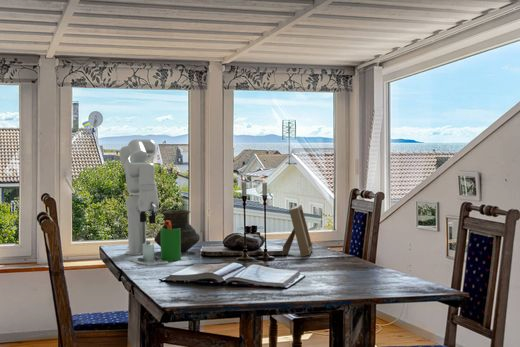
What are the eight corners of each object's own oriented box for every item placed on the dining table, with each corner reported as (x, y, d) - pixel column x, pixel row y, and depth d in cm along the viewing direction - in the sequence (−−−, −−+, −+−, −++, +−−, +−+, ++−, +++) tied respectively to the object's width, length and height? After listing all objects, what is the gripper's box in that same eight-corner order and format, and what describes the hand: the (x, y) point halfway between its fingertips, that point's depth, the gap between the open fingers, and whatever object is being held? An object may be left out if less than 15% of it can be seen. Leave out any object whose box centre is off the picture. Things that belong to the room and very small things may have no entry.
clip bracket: (129, 260, 343) (129, 256, 343) (149, 258, 350) (148, 254, 350) (147, 265, 327) (147, 261, 327) (168, 263, 334) (168, 258, 334)
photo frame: (312, 250, 370) (311, 204, 370) (309, 256, 349) (308, 207, 348) (285, 250, 373) (284, 205, 372) (280, 256, 351) (279, 208, 350)
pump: (141, 260, 339) (140, 240, 339) (150, 258, 342) (150, 240, 342) (146, 261, 334) (145, 241, 334) (156, 260, 338) (155, 241, 337)
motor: (182, 258, 350) (181, 219, 349) (178, 260, 341) (177, 221, 340) (162, 258, 351) (162, 219, 350) (158, 260, 342) (157, 221, 341)
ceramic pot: (150, 251, 379) (149, 210, 379) (192, 248, 388) (191, 208, 388) (160, 256, 357) (159, 213, 356) (204, 253, 366) (203, 211, 365)
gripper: (132, 187, 342) (132, 221, 343) (148, 189, 328) (148, 224, 329) (145, 187, 347) (146, 220, 347) (162, 188, 333) (162, 223, 333)
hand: (147, 222), depth 338 cm, fingers open, 9 cm apart
